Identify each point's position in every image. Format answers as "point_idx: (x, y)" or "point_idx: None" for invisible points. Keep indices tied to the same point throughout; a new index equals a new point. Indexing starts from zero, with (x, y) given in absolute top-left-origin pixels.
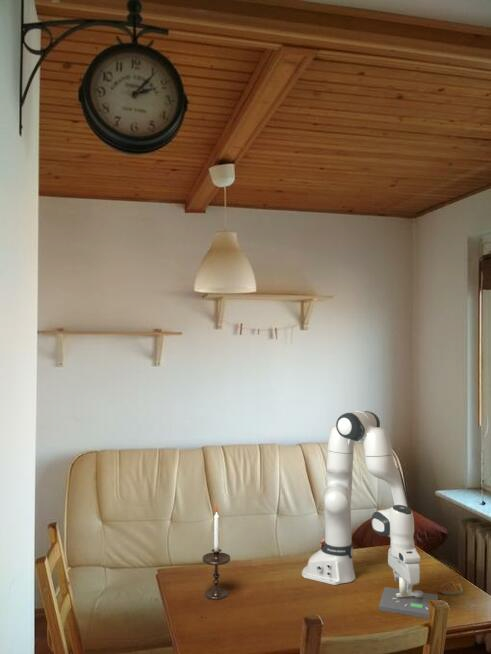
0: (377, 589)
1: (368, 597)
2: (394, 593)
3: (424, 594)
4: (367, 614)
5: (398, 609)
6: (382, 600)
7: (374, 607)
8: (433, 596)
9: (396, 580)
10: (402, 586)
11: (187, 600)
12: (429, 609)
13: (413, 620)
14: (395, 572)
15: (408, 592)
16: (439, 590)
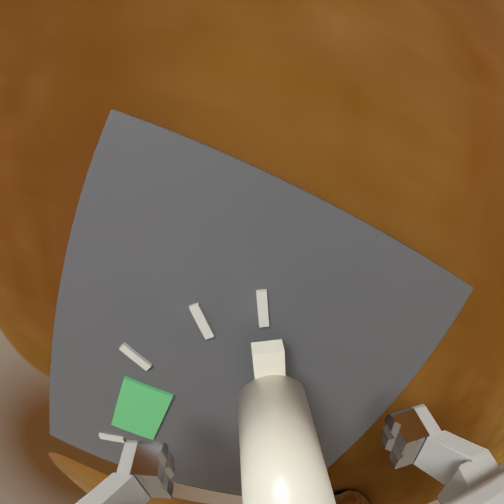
0: (481, 231)
1: (383, 101)
2: (363, 333)
3: None
4: (73, 20)
5: (62, 274)
6: (233, 179)
7: (181, 86)
8: None
9: (399, 425)
10: (244, 452)
11: None
12: (106, 441)
13: (15, 320)
14: (459, 465)
15: (130, 448)
16: (337, 500)
